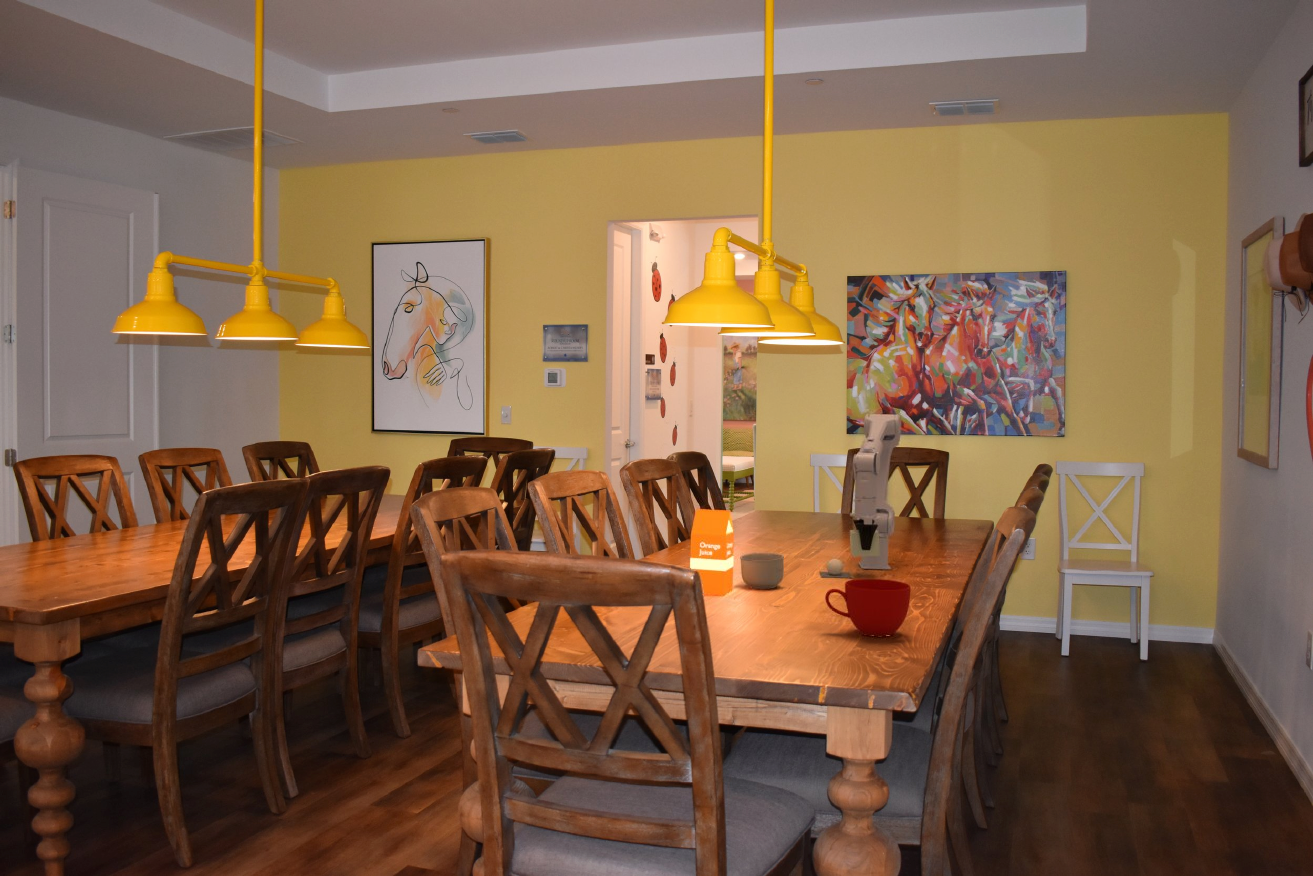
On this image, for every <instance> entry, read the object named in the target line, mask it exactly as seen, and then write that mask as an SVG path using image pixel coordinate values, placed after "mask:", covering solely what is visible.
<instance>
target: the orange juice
mask: <svg viewBox="0 0 1313 876" xmlns="http://www.w3.org/2000/svg"><path fill="white" fill-rule="evenodd" d="M693 518H694V519H693V524H692V527H691V533H690V560H689V561H690V562H689V563H690V564H689V569H690V568H691V569H694V570H697V571H698V572H699V573H700V576H701V580H702V584H703V590H704V594H703V595H706V594H707V595H708V596H719V595H723V596H722V597H726V596H727V595H728V594H729V592H730V591H731V592H733V591H734V587H733V585H734V549H735V548H734V546H735V545H734V544H735V541H734V535H735V534H734V533H735V531H734V526H733V521H732V514H731V510H725V509H724V510H722V509H721V510H720V509H705V508H700V509H699V508H696V510H695V514H694V517H693ZM732 590H733V591H732ZM731 592H730V593H731ZM705 593H706V594H705ZM727 593H728V594H727ZM709 594H710V595H709ZM726 594H727V595H726ZM725 595H726V596H725Z"/></svg>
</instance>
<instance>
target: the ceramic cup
mask: <svg viewBox="0 0 1313 876" xmlns="http://www.w3.org/2000/svg"><path fill="white" fill-rule="evenodd" d="M911 590H912V589H911V586H910V584H909V583H906V582H903V581H898V580H892V579H881V578H857V579H851V580H847V581H845V583H844V591H843V590H841V589H838V588H831V589H829V590H827V592H826V593H825V596H824V597H825V598H824V600H825V602H826V606H828V608H829V609H830V610H831V611H833V612H834V613H835V614H837V615H839V616H842V617H845V618H849V619H850V621H851V622H852V625H854V627H855V628H856V629H857V630H858V632H859V633H860V632H861V633H863V634H866V635H874V636H886V635H892V634H893V635H894V634H895V633H896V632H897V631H898V630H899V628H901V626H902V625H903V624H904V621H905V619H906V617H907V615H908V612H909V611H908V610H909V607H910V601H911V600H910V599H911ZM833 593H837V594H839V595H840V596H842V597H843V599H844V602H845V605H846V609H847V612H844V611H841V610H840V609H837V608H835V606H833V605H832V604H831V602H830V595H831V594H833ZM861 633H860V634H861ZM863 634H862V635H863ZM866 635H865V636H866ZM893 635H892V636H893Z"/></svg>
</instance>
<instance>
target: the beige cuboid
mask: <svg viewBox="0 0 1313 876" xmlns="http://www.w3.org/2000/svg"><path fill="white" fill-rule="evenodd" d="M849 543H850V547H849V548H850V554H851V556H852V557H862V556H880V554H879V532H878V531H877V530H876V531H875V533H874V536H873V540H872V545H871V549H870V550H862V548H861V542H860V535H859V531H858V530H856V529H850V530H849Z"/></svg>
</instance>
